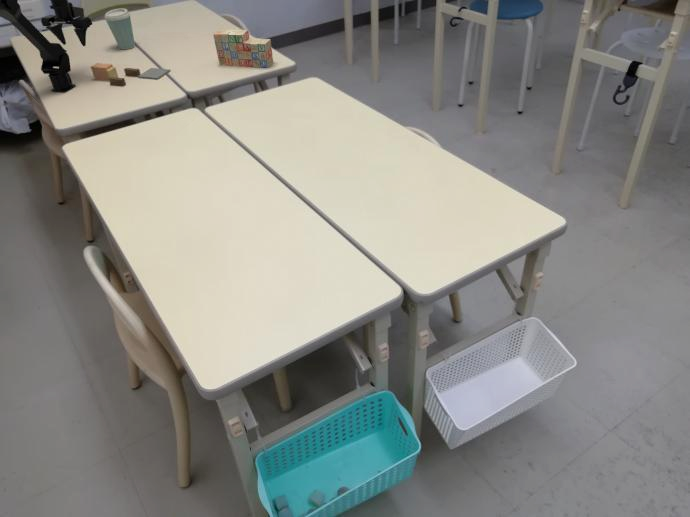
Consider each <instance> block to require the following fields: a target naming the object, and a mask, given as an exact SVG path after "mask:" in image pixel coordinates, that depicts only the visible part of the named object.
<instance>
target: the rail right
mask: <svg viewBox="0 0 690 517" xmlns="http://www.w3.org/2000/svg"><path fill="white" fill-rule="evenodd" d="M123 70H124V73H125V76H126V77H137V78H138V76H139V75H141V74H142V73H141V71H140V69H139V68H134V67H133V68H132V67H125V68H124V69H123Z"/></svg>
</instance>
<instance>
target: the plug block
mask: <svg viewBox="0 0 690 517" xmlns="http://www.w3.org/2000/svg"><path fill="white" fill-rule="evenodd" d="M116 68H117V67H115V66H113V64H112V63H103V62H101V63H100V62H97V63H95V64H92V65H91V66H90V69H91V72H92V75H93V77H94V80H96V81H97V80H98V81H107V82H108V81H109V79H108V78H110V77H117V78H119V74H118V72H117V69H116Z"/></svg>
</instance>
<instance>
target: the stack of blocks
mask: <svg viewBox="0 0 690 517" xmlns="http://www.w3.org/2000/svg"><path fill="white" fill-rule="evenodd" d="M213 39H214V44H215V45H214V46H215V49H216V54H217V59H218V64H219V66H231V67H245V68H246V67H247V68H262V69H263V68H264V69H268V68H269V67H271V65H273V64H274V57H273V48H272V41H271V40H272V39H270V38H256V37H254V38H253V37H250V35H249V30H248V29H227V28H226V29H224V28H223V29H222V28H221V29H218V30H217V31H216V32H214V33H213Z"/></svg>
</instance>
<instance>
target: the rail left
mask: <svg viewBox="0 0 690 517" xmlns="http://www.w3.org/2000/svg"><path fill="white" fill-rule="evenodd" d="M108 79H109V84H110V86H119V87H125V86H126V85H127V83H126V80H125V79H126V78H124V77H118V78H117V77H110V78H108Z"/></svg>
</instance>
